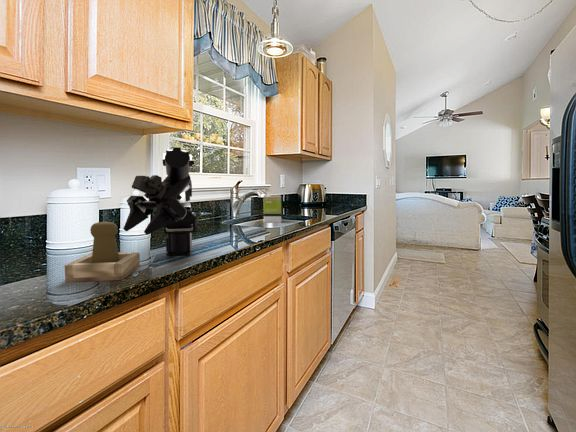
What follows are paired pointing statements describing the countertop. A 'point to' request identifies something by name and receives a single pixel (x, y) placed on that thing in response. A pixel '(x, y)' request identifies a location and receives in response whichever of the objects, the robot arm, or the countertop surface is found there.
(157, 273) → the countertop surface
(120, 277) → the wooden tray
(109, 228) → the brown toast slice
